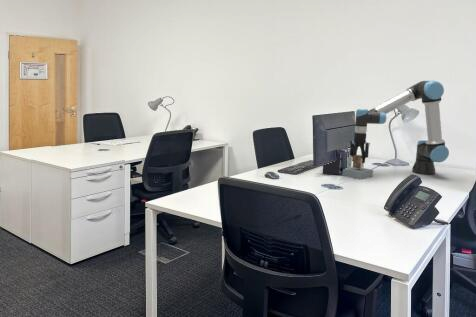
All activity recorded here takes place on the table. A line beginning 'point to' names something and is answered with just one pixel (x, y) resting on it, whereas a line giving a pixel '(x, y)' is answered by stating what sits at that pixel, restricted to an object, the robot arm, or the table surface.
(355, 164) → the walnut block
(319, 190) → the table surface
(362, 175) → the slate base
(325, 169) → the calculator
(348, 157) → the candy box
